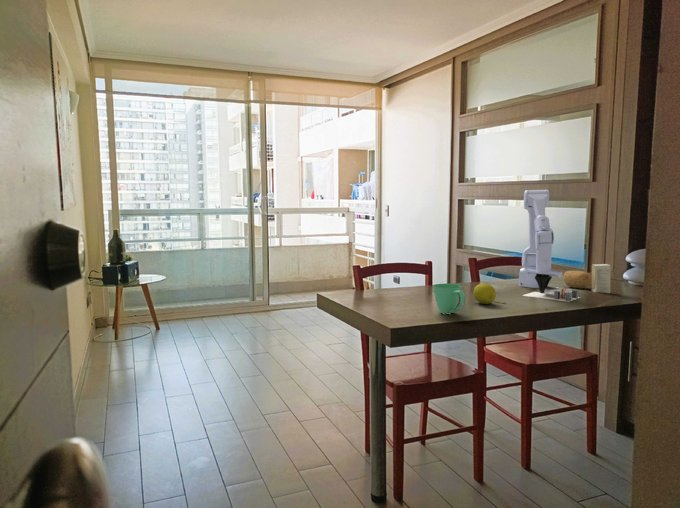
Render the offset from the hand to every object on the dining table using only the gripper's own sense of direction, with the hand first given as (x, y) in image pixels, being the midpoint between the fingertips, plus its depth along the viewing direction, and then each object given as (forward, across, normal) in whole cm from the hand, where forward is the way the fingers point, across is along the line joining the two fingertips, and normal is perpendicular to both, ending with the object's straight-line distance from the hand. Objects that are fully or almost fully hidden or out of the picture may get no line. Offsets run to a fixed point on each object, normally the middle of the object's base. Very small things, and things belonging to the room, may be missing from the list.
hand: (542, 293), depth 205 cm
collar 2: (+2, +12, 0) cm, 12 cm away
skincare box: (+2, +14, +24) cm, 28 cm away
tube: (+1, +6, 0) cm, 7 cm away
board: (+2, +3, 0) cm, 4 cm away
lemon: (+2, -11, -26) cm, 28 cm away
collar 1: (+2, +7, 0) cm, 7 cm away
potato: (+2, +2, +29) cm, 29 cm away
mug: (+2, -10, -50) cm, 51 cm away
